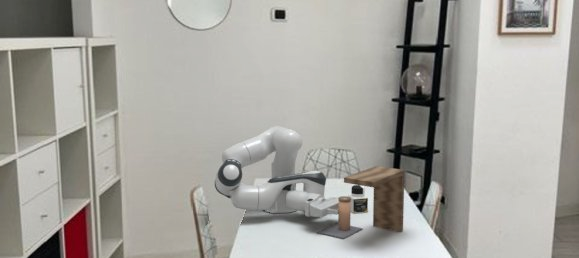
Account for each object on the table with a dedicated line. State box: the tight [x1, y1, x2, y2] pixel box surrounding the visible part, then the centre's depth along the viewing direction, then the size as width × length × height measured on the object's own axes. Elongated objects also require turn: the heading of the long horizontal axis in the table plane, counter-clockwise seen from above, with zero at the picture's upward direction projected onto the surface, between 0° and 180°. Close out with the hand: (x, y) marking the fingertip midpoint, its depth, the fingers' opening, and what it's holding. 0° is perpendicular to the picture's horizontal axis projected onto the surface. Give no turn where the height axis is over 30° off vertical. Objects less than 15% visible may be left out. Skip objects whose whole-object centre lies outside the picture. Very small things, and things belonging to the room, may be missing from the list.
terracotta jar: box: [337, 195, 352, 231], centre depth 238 cm, size 5×5×13 cm
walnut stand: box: [343, 165, 405, 233], centre depth 230 cm, size 13×26×26 cm, turn 143°
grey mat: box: [316, 222, 363, 240], centre depth 238 cm, size 13×15×1 cm
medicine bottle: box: [347, 184, 369, 214], centre depth 266 cm, size 7×7×12 cm
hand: (344, 209), depth 238 cm, fingers open, 8 cm apart
